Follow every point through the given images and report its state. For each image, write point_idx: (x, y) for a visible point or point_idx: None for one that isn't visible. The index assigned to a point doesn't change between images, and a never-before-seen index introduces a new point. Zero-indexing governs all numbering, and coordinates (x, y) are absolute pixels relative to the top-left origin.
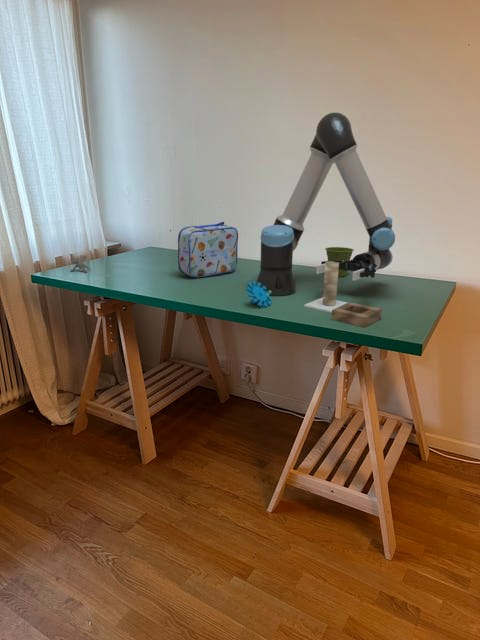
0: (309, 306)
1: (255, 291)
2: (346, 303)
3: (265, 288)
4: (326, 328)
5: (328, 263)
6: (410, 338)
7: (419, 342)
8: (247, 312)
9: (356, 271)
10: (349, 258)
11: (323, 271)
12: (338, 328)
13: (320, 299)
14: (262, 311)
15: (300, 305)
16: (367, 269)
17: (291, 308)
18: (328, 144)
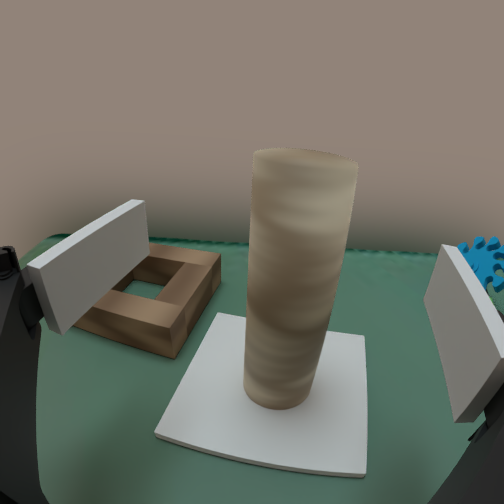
0: (337, 333)
1: (474, 255)
2: (180, 310)
3: (494, 283)
4: (218, 242)
5: (317, 152)
6: (49, 247)
7: (43, 241)
8: (425, 260)
9: (118, 209)
10: None
11: (441, 345)
12: (191, 248)
13: (354, 432)
14: (412, 272)
15: (380, 347)
16: (10, 262)
17: (380, 312)
18: None
